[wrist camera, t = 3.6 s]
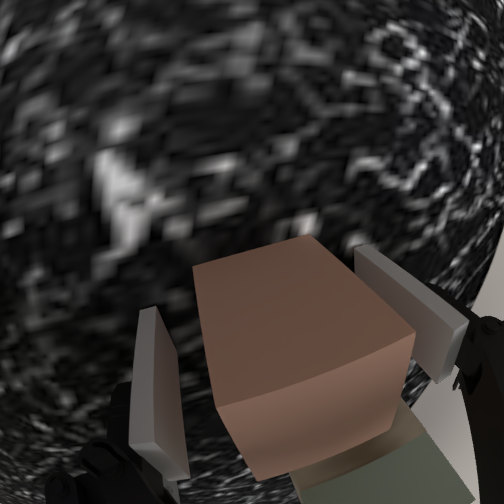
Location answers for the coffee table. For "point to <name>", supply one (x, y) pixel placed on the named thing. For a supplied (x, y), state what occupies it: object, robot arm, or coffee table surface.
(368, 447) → the beech block
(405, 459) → the sage block
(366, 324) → the terracotta block
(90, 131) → the coffee table surface
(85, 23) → the coffee table surface
